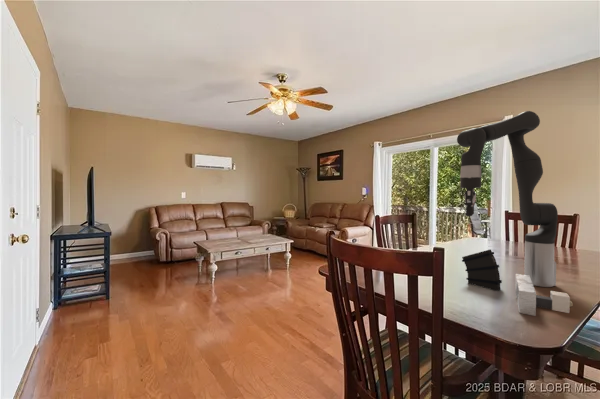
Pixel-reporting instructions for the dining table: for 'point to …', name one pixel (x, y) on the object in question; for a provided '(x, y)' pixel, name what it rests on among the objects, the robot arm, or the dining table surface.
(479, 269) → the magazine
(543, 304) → the plug
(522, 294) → the housing
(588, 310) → the dining table surface
